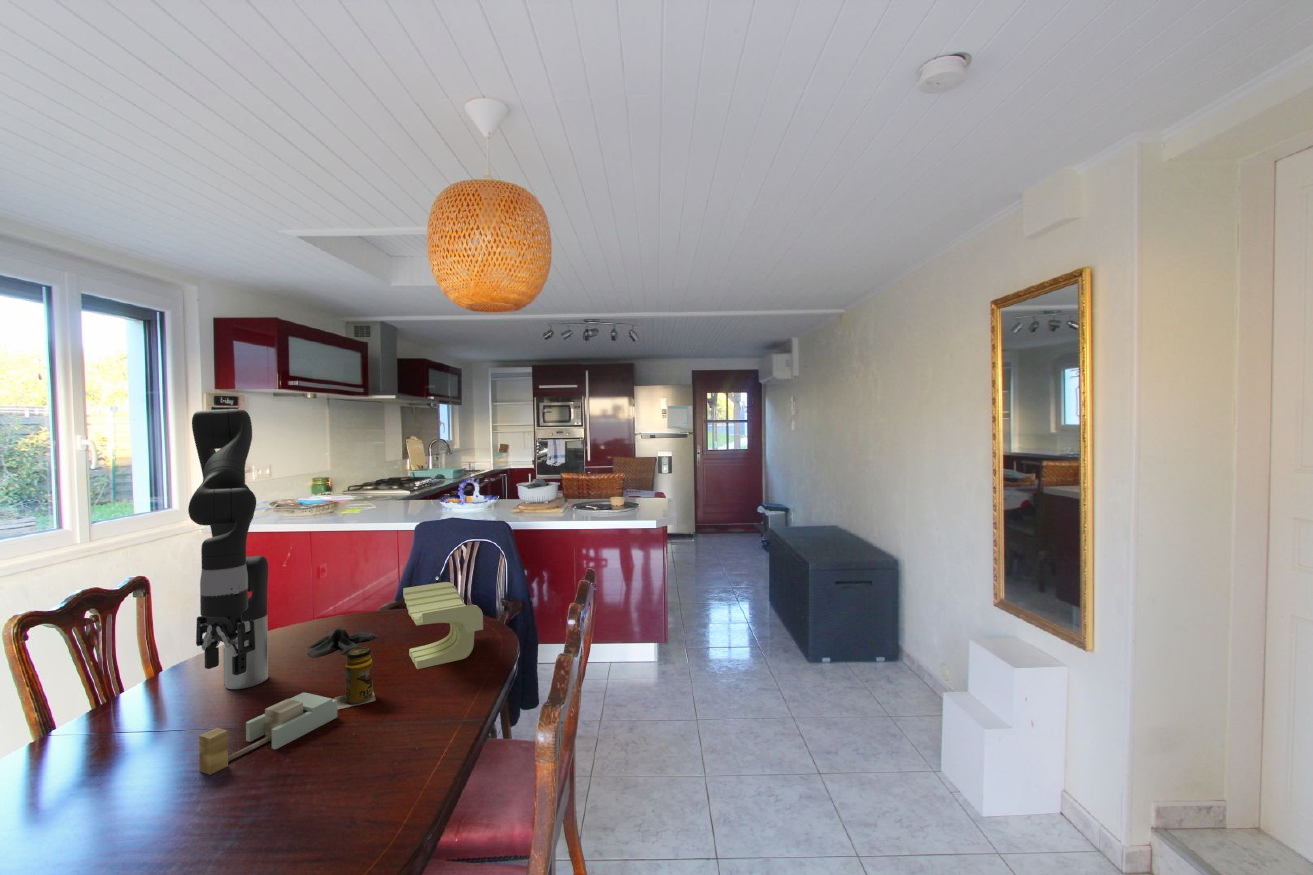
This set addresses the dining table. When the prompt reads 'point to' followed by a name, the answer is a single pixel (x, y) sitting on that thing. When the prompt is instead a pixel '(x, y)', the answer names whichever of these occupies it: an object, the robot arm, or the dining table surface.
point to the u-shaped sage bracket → (296, 720)
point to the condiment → (357, 679)
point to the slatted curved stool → (442, 608)
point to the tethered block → (216, 747)
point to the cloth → (339, 642)
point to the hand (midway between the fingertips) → (225, 670)
